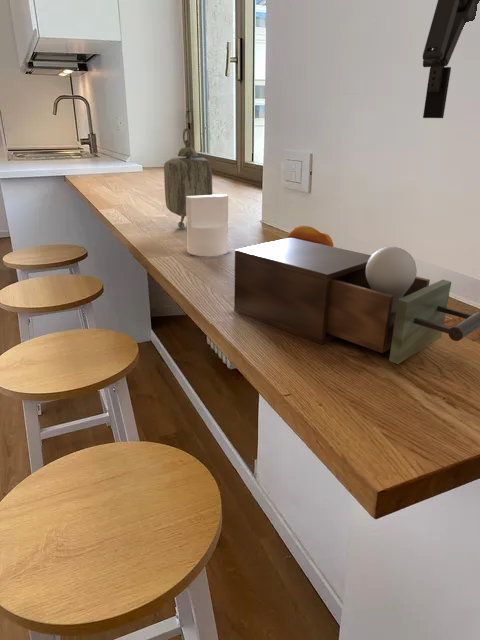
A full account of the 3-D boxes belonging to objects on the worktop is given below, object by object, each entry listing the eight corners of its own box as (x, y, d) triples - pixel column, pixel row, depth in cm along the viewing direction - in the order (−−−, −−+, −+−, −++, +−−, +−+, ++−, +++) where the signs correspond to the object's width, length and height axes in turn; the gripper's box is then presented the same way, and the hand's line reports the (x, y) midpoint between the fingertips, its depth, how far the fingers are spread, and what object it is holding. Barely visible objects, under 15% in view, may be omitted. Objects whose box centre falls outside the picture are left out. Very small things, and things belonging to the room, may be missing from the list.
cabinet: (373, 320, 73) (381, 257, 69) (321, 344, 65) (327, 274, 61) (287, 293, 84) (290, 237, 80) (234, 311, 76) (234, 249, 72)
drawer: (486, 351, 62) (499, 292, 59) (446, 382, 54) (458, 316, 51) (343, 307, 76) (348, 257, 73) (295, 326, 68) (299, 272, 65)
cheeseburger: (265, 274, 93) (273, 221, 91) (291, 275, 102) (299, 226, 100) (314, 283, 88) (323, 227, 86) (337, 283, 97) (346, 232, 95)
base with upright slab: (218, 244, 115) (218, 192, 111) (234, 253, 108) (235, 197, 103) (181, 248, 112) (180, 194, 107) (195, 257, 104) (194, 200, 100)
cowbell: (212, 231, 129) (211, 128, 119) (178, 234, 126) (175, 128, 116) (196, 221, 141) (194, 127, 132) (165, 223, 138) (161, 127, 129)
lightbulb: (393, 343, 61) (406, 256, 57) (350, 329, 65) (359, 246, 61) (415, 329, 65) (428, 247, 61) (373, 317, 69) (383, 239, 65)
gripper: (471, -91, 57) (439, 117, 65) (536, -45, 72) (503, 119, 80) (411, -75, 62) (388, 117, 70) (483, -35, 77) (457, 119, 85)
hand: (449, 118), depth 75 cm, fingers open, 10 cm apart
